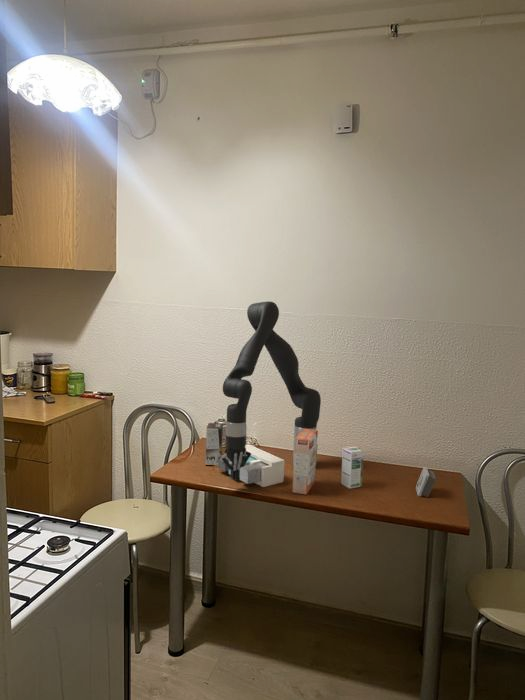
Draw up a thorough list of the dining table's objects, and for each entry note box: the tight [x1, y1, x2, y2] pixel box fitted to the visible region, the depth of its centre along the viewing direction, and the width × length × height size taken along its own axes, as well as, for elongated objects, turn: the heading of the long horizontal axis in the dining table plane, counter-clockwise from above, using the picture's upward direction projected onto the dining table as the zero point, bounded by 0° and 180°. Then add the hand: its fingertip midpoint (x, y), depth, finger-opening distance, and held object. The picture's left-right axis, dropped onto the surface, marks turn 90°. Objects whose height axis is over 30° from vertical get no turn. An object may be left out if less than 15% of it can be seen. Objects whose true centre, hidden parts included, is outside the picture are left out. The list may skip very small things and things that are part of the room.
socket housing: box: [245, 444, 285, 488], centre depth 204 cm, size 10×23×9 cm, turn 37°
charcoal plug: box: [217, 454, 229, 472], centre depth 206 cm, size 10×5×5 cm, turn 127°
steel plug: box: [239, 462, 268, 485], centre depth 194 cm, size 10×5×5 cm, turn 127°
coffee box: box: [205, 422, 224, 465], centre depth 216 cm, size 9×6×16 cm
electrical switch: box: [415, 466, 437, 498], centre depth 192 cm, size 9×5×9 cm, turn 169°
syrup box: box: [340, 446, 364, 489], centre depth 197 cm, size 6×6×14 cm
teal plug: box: [228, 457, 256, 478], centre depth 200 cm, size 10×5×5 cm, turn 127°
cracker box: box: [291, 429, 319, 496], centre depth 192 cm, size 14×6×21 cm, turn 163°
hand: (234, 479), depth 189 cm, fingers closed
